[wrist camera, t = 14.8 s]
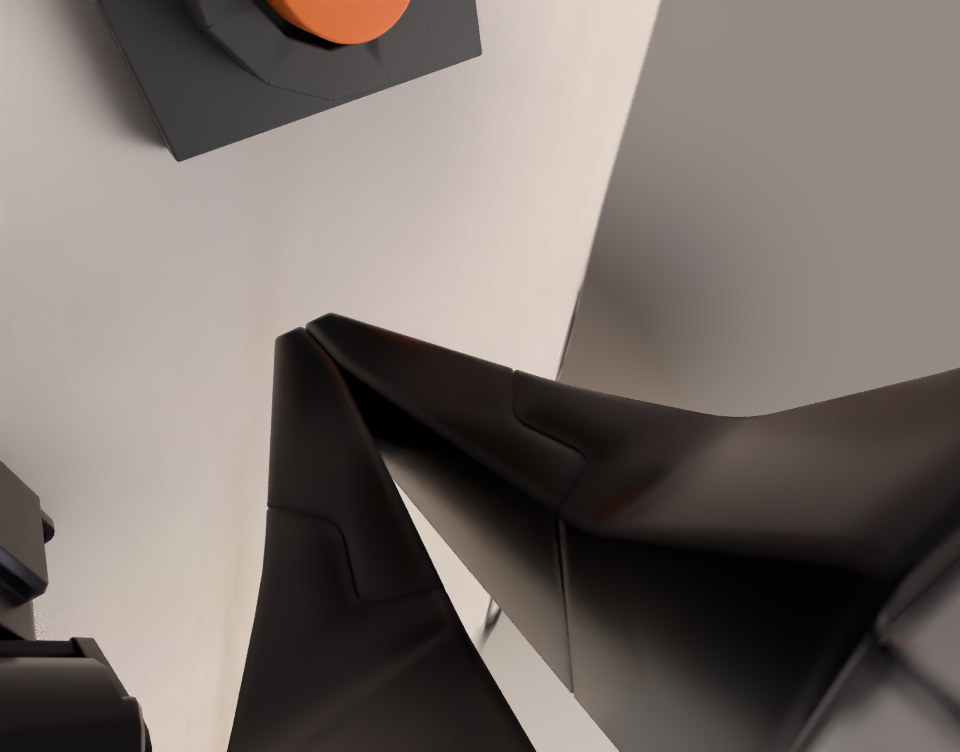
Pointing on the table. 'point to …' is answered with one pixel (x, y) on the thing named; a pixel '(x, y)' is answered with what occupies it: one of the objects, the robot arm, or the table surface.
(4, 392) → the table surface
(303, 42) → the opener housing
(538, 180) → the table surface
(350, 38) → the button
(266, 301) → the table surface
